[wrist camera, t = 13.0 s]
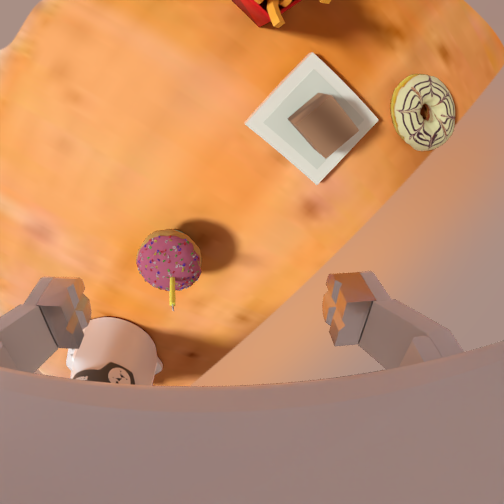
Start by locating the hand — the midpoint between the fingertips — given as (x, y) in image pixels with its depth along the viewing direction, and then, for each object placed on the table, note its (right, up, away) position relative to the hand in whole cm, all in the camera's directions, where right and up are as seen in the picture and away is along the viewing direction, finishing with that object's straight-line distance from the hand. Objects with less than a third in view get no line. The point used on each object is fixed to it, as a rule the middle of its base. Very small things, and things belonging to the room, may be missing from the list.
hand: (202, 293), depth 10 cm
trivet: (+9, +18, +27) cm, 33 cm away
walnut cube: (+9, +17, +25) cm, 32 cm away
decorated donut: (+24, +21, +27) cm, 42 cm away
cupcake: (-9, +2, +34) cm, 36 cm away
